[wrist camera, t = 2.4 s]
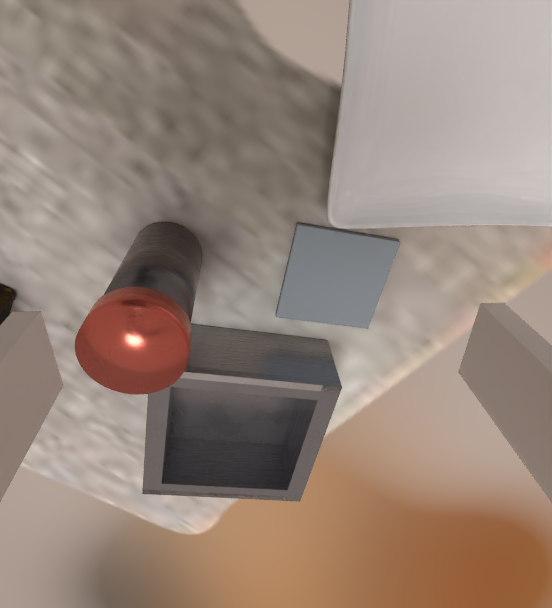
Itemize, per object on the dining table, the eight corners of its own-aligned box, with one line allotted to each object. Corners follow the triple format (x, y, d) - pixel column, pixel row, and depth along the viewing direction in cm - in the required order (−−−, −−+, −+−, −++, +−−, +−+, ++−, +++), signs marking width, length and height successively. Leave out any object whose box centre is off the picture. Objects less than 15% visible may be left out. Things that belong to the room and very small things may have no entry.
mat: (275, 313, 34) (276, 317, 34) (296, 222, 30) (297, 225, 30) (366, 325, 35) (367, 328, 35) (398, 239, 31) (400, 242, 31)
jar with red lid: (129, 280, 31) (77, 389, 21) (131, 213, 29) (72, 300, 19) (200, 290, 32) (183, 398, 22) (208, 225, 30) (193, 315, 19)
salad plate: (754, -188, 21) (838, -227, 18) (585, 213, 32) (620, 229, 29) (349, -220, 19) (369, -270, 16) (317, 215, 30) (325, 232, 27)
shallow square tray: (154, 438, 40) (142, 493, 35) (163, 320, 34) (149, 368, 28) (292, 448, 43) (300, 501, 38) (327, 340, 36) (342, 387, 31)
